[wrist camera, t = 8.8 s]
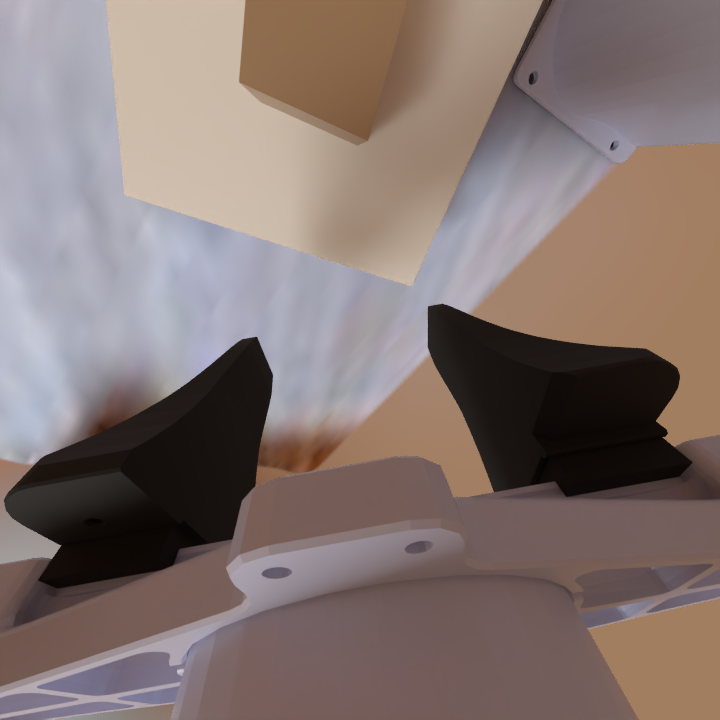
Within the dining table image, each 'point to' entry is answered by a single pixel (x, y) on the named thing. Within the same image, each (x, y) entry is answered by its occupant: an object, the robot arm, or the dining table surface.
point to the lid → (311, 115)
